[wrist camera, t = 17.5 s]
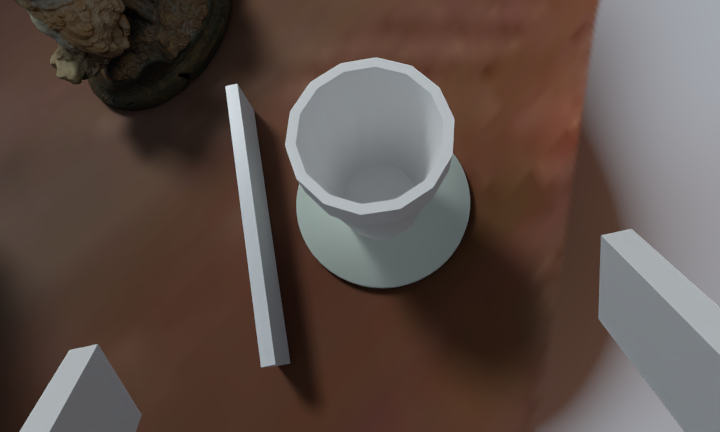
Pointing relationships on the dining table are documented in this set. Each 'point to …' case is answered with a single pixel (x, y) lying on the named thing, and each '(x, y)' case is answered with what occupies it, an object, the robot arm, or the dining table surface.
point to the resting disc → (395, 255)
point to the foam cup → (371, 144)
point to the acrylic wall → (257, 232)
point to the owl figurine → (131, 44)
